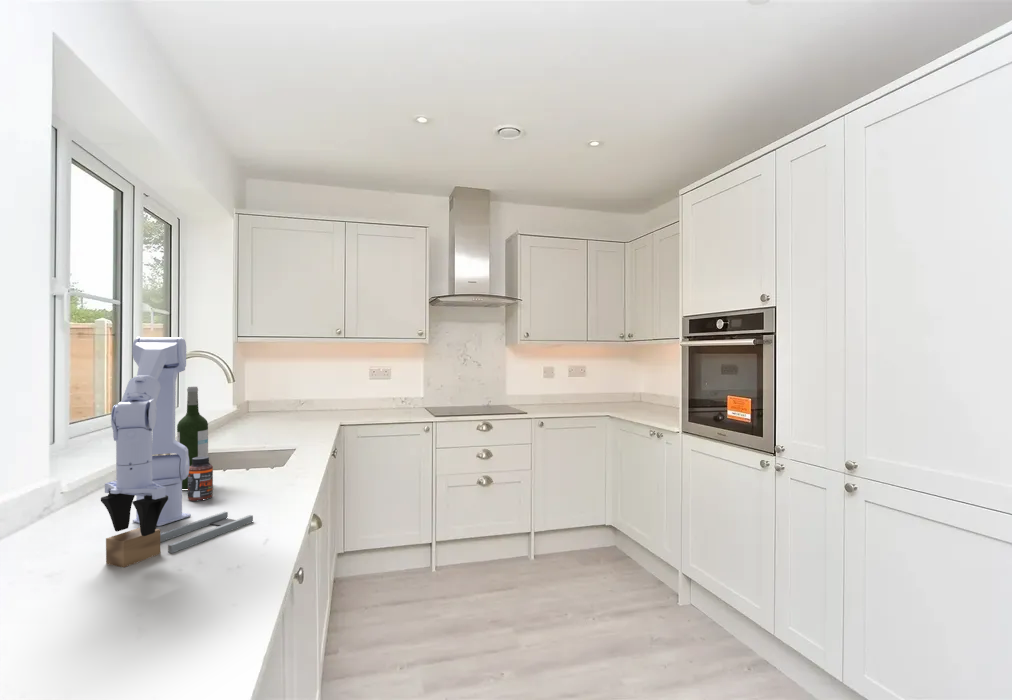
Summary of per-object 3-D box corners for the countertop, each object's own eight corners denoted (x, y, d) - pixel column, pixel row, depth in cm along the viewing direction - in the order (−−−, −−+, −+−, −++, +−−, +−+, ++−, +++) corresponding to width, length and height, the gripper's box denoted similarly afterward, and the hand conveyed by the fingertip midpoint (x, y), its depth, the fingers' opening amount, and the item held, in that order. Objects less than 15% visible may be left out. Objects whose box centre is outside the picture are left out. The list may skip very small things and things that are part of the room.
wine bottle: (181, 485, 156) (181, 386, 156) (211, 482, 158) (210, 385, 158) (173, 491, 148) (173, 388, 148) (204, 489, 151) (204, 387, 151)
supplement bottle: (201, 502, 138) (201, 460, 138) (182, 501, 139) (182, 459, 139) (217, 496, 143) (217, 455, 143) (199, 495, 145) (199, 454, 145)
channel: (141, 547, 106) (140, 540, 106) (224, 517, 125) (224, 511, 125) (171, 553, 103) (171, 545, 103) (252, 521, 121) (252, 515, 121)
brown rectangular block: (106, 564, 98) (106, 538, 98) (143, 551, 104) (143, 526, 104) (123, 568, 96) (123, 541, 96) (160, 554, 103) (160, 529, 103)
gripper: (87, 464, 99) (87, 534, 99) (139, 469, 94) (139, 543, 94) (125, 457, 106) (125, 523, 106) (175, 461, 101) (176, 531, 101)
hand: (134, 532), depth 100 cm, fingers open, 7 cm apart
